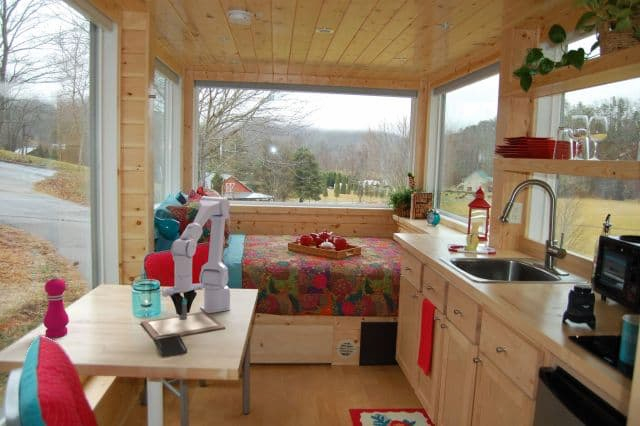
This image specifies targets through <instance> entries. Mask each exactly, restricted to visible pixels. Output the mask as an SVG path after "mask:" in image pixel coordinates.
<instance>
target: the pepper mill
mask: <svg viewBox="0 0 640 426" xmlns="http://www.w3.org/2000/svg"><path fill="white" fill-rule="evenodd" d="M66 289H67V284H66V282H65V281H64V280H63V279H61V278H59V275H58V274H53V275H52V276H51V279H50V280H48V281H47V282H46V283H45V284H44V291H45V293H46V300H48V307H47V311H46V314H45V316H44V318H43V326H44V327H45V328H46V329H45V337H46V338H50V339H53V338H54V339H55V338H56V339H57V338H62V337H64V336H66V335H67V334H68V327H67V325H69V322H70V319H69V315H68V313H67V311H66V309H65V307H64V299H65V298H66V297H65V293H64V292H65V291H66Z"/></svg>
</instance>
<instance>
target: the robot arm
mask: <svg viewBox="0 0 640 426" xmlns="http://www.w3.org/2000/svg"><path fill="white" fill-rule="evenodd" d="M229 213H230V201H229V200H228V198H227V197H225V196H224V197H219V196H206V195H203V196H202V197H200V200H199V202H198V212H197V214H196V216H195V218H194V220H193V222H192V223H191V222H190V223H189V224H187V226H186V227H185V230H183V232H182V234H181V235H180V237H179V238H177V239H176V240H174V241H173V242H172V244H171V248H170V252H171V254H172V260H173V261H174V286H171V287H168V288H164V289H161V296H162V297H164V298H166V297H170V299H171V301H172V303H173V305H174V309H175V313H176V315H177V316H179V315H181V313H182V300H183V298H187V314H191V313H190V312H191V308H192V305H193V303H194V301H195V299H196V297H197V292H196V291H199V290H200V291H203V294H204V295H203V305H200V307H199V308H200V309H201V310H202V311H203V312H207V313H209V314H212V313H218V312H219V313H221V312H225V311H230V310H231V291H230V288H229V286H228V282H229V268H228V267H227V266H226V265H225V264H224V263H223V262H222V260H223V250H224V249H223V248H224V247H223V246H224V237H225V228H226V227H225V224H226V220H228V219H229V215H230V214H229ZM208 220H210V221H211V223H210V224H211V226H210V237H209V247H208V248H209V249H208V260H207V262H206V263H204V264H203V265H201V271H200V273H199V277H198V278H199V283H193V256H194V255H195V254H196V251H197V246H198V241H199V239H200V238H201V237H202V235H203V233H204V232H203V227H204V225H205V224H206V223H207V222H208ZM182 295H183V296H182Z"/></svg>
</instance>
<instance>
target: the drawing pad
mask: <svg viewBox="0 0 640 426" xmlns="http://www.w3.org/2000/svg"><path fill="white" fill-rule="evenodd" d="M140 324H141V325H142V327H143V328H144V330H146V332H147V333H148V334H149V335H150V336H151V338H152V339H153V340H154V341H155V339H160V338H166V337H172V336H178V335H179V336H180V337H185V336H190V335H191V336H192V335H196V334H197V335H198V334H202V333H208V332H213V331H219V330H220V331H221V330H225V329H226V326H225V325H224V324H222V323H221V322H220V321H219V320H217V319H216V318H215V317H214V316H212V314H211V313H207V312H205V311H203V312H202V311H201V312H196V313H187V319H186V320H180V319H179V315H177V316H171V317H169V316H168V317H163V318H157V319H150V320H143V321H140ZM173 334H178V335H173ZM165 335H170V336H165ZM157 336H162V337H157ZM155 337H156V338H155Z"/></svg>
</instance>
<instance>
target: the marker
mask: <svg viewBox="0 0 640 426" xmlns="http://www.w3.org/2000/svg"><path fill="white" fill-rule="evenodd" d="M187 315H188V313H187V298H184V297H183V300H182V313H181V315H178V316H179V319H180V320H186V319H187Z"/></svg>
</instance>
